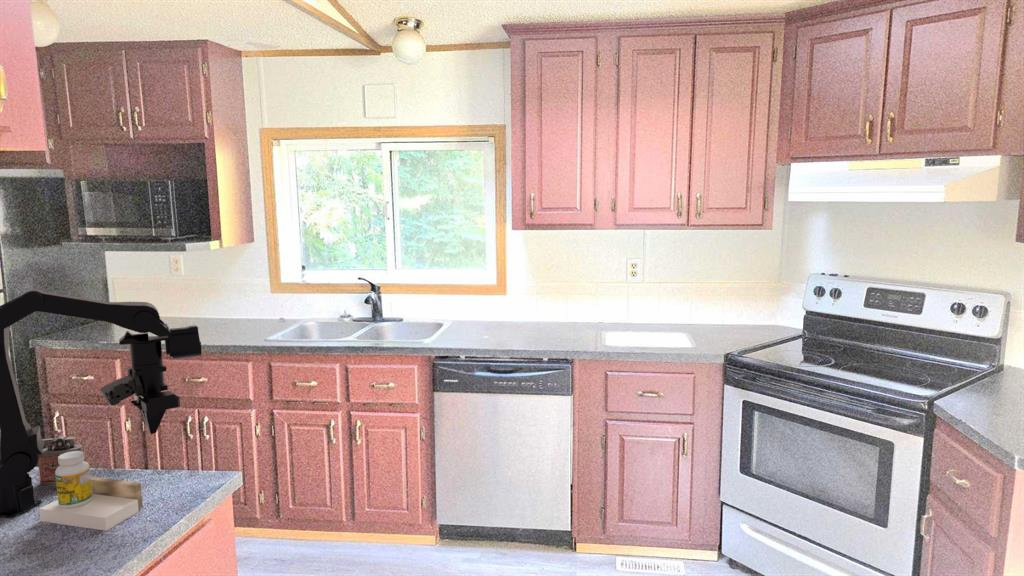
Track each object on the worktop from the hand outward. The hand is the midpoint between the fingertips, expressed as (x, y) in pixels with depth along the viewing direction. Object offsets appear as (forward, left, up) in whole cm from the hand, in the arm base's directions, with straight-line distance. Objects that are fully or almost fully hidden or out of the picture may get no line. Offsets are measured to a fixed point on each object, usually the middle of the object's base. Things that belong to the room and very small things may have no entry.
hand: (152, 433), depth 132 cm
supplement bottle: (-3, -16, -8) cm, 18 cm away
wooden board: (0, -12, -10) cm, 16 cm away
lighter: (-19, -5, -11) cm, 23 cm away
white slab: (0, -16, -11) cm, 19 cm away
